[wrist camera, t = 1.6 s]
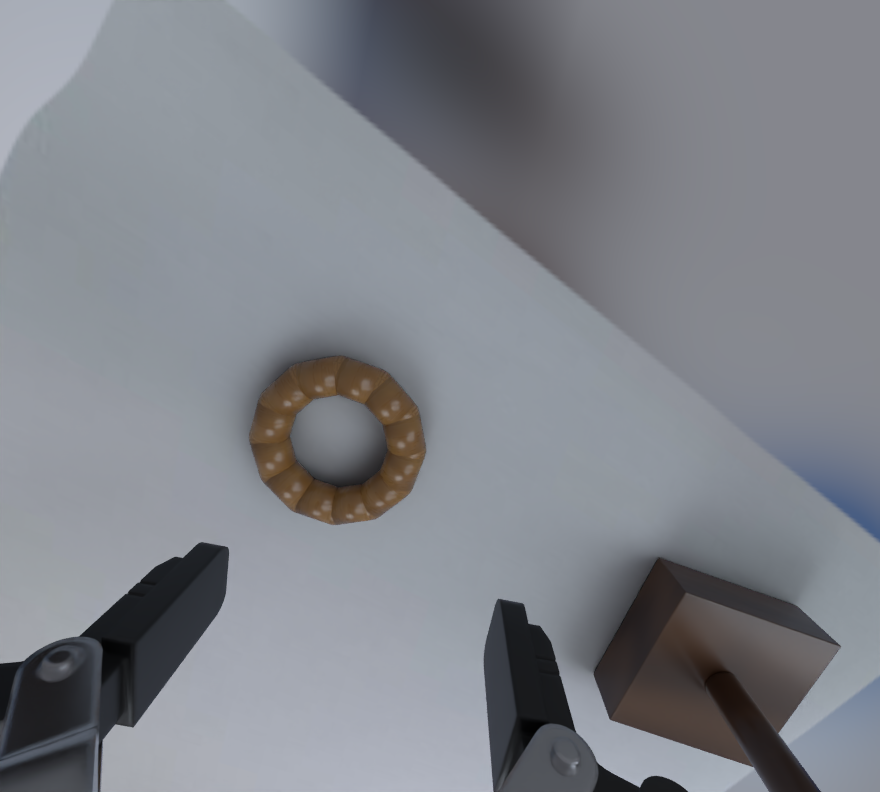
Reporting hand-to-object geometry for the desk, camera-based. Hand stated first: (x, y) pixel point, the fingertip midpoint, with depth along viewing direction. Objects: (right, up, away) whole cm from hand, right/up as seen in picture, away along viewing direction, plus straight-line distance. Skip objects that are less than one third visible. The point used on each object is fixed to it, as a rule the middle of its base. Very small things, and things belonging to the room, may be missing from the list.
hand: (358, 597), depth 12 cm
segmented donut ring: (-3, +3, +10) cm, 11 cm away
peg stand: (+18, -9, +14) cm, 24 cm away
